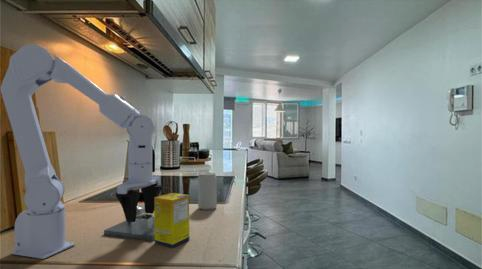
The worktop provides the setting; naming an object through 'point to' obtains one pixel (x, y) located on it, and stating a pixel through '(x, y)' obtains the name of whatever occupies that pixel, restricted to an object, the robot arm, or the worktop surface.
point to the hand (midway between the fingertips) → (140, 217)
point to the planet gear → (142, 224)
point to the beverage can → (207, 191)
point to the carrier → (125, 228)
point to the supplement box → (171, 219)
